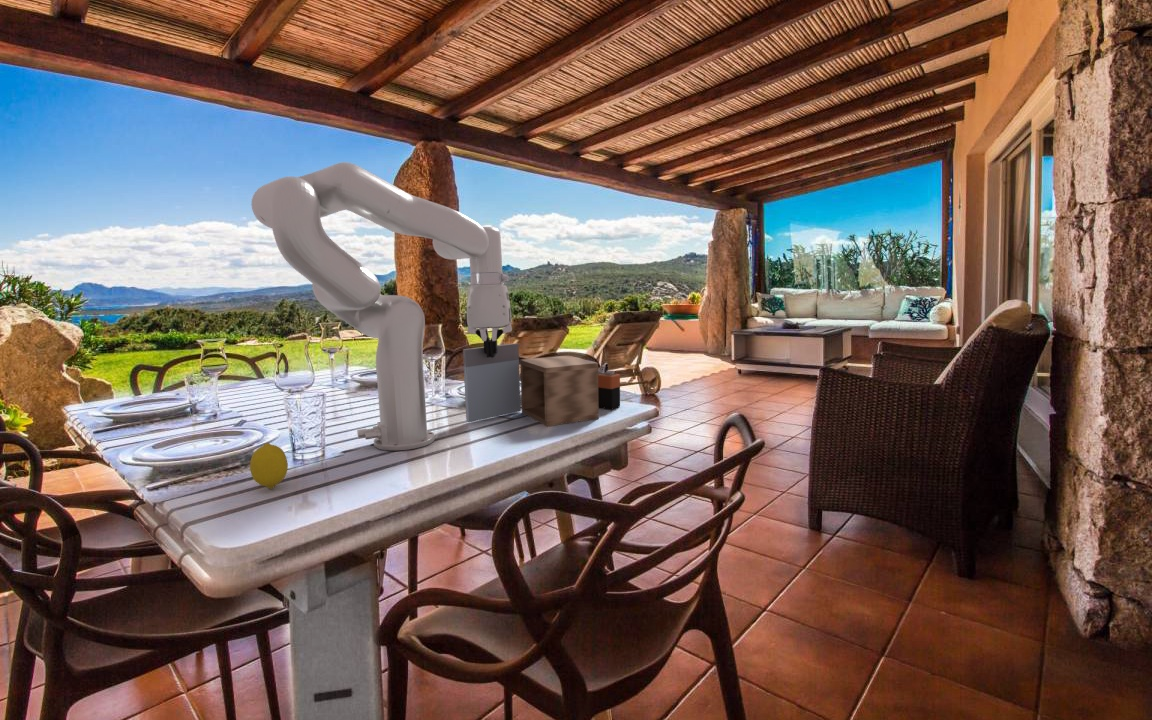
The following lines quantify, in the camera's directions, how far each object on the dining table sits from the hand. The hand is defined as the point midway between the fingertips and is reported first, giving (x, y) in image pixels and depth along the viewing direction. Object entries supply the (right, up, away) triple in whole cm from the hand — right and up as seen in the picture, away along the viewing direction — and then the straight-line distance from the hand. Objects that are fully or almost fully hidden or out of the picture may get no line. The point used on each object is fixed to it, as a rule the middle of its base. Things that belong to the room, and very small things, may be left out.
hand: (491, 356), depth 133 cm
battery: (+29, -14, +15) cm, 35 cm away
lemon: (-31, -23, -40) cm, 56 cm away
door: (0, -15, +6) cm, 16 cm away
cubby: (+16, -15, +7) cm, 23 cm away
